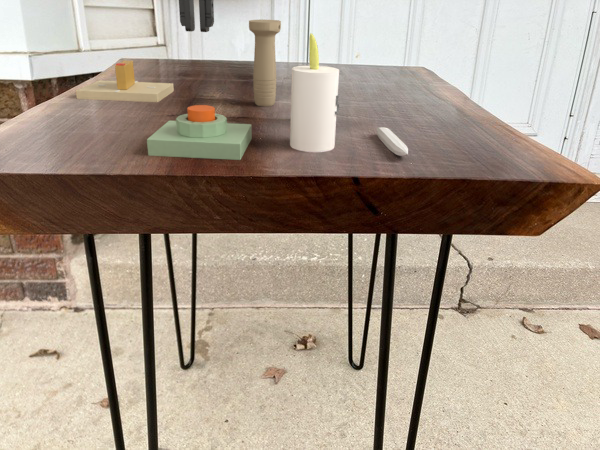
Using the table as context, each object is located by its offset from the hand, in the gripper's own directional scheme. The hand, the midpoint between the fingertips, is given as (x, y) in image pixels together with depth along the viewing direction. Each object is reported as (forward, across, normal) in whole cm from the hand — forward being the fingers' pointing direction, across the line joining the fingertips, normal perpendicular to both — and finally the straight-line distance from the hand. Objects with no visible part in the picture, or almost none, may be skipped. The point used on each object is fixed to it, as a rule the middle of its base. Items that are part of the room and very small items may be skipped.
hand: (197, 30), depth 66 cm
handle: (+15, -6, -21) cm, 27 cm away
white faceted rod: (+15, -26, -4) cm, 31 cm away
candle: (+15, -15, -3) cm, 22 cm away
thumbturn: (+12, +19, -24) cm, 33 cm away
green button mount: (+15, 0, 0) cm, 15 cm away
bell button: (+11, 0, 0) cm, 11 cm away
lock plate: (+15, +19, -24) cm, 34 cm away
